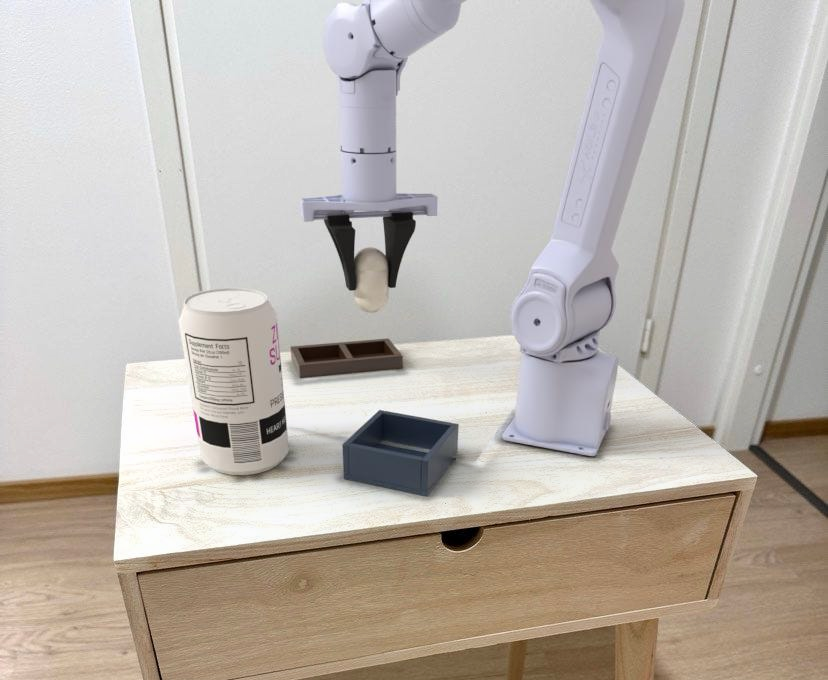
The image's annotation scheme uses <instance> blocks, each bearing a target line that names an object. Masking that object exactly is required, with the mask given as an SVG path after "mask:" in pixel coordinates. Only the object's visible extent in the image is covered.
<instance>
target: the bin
mask: <svg viewBox="0 0 828 680" xmlns="http://www.w3.org/2000/svg"><path fill="white" fill-rule="evenodd" d="M459 427H460V424H459V423H454V422H450V421H445V420H438V419H433V418H427V417H421V416H416V415H411V414H405V413H400V412H395V411H394V412H393V411H388V410H382V409H379V410H378V411H376V412H375V413H374V414H373V415H372V416H371V417H370V418H369V419H368V420H366V422H365V423H364V424H362V426H361V427H360V428H358V429H357V430H356V431H355V432H354V433H353V434H352V435H351V436H350V437H348V438H347V439H346V440H345V441H344V442H343V443H342V444H341V445H342V448H341V449H342V469H343V480H348V481H354V482H358V483H363V484H368V485H371V486H372V485H373V486H376V487H381V488H386V489H391V490H394V491H400V492H403V493H404V492H405V493H409V494H414V495H419V496H423V497H428V496H429V494H430V493H431V492H432V491H433V489H434V488H435V487H436V485H437V484H438V483H439V481H440V480H441V479H442V477H443V476H444V475H445V474H446V472H447V471H448V469H449V468H450V467H451V465H452V464H453V463H454V462H455V460H456V459H457V458H456V457H455V456H456V455H457V453H458V449H459V447H458V445H459ZM382 442H386V443H387V442H388V443H393V444H399V445H403V446H409V447H414V448H419V449H423V450H428V452H426V451H422V450H421V451H419V450H415V449H409V448H404V447H399V446H394V445H389V444H384V443H382Z"/></svg>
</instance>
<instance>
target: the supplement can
mask: <svg viewBox="0 0 828 680" xmlns="http://www.w3.org/2000/svg"><path fill="white" fill-rule="evenodd" d="M182 302H183V308H182V311H181V313H180V317H179V319H178V325H179V326H178V327H179V332H180V338H181V344H182V349H183V356H184V363H185V369H186V375H187V382H188V387H189V392H190V399H191V404H192V411H193V418H194V422H195V423H194V424H195V428H196V434H197V441H198V447H199V452H200V453H199V454H200V458H201V459H202V460H203V463H204V464H206V465H208V466H210V467H211V469H213V470H214V471H217V472H218V473H220V474H221V473H222V474H226V475H230V476H249V475H250V476H251V475H256V474H260V473H263V472H267V471H270V470H271V469H273V468H275V467H277V466H279V465H280V463H281V462H282V461H283V460H284V459H285V457H286V456H287V455H288V454H289V436H288V434H289V433H288V425H287V411H286V404H285V403H286V401H285V391H284V390H285V389H284V381H283V379H284V378H283V369H282V359H281V358H282V357H281V347H280V337H279V336H280V335H279V326H278V325H279V324H278V315H277V312H276V310H275V308H274V307H273V305H272V303H271V302H270V301H269V296H268V295H267V294H265V292H262V291H260V290H256V289H251V288H245V287H222V288H221V287H220V288H219V287H218V288H213V289H212V288H211V289H205V290H200V291H198V292H195V293H191V294H190V295H188V296H187V297H185V298H184V300H183V301H182Z"/></svg>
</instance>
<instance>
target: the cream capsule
mask: <svg viewBox="0 0 828 680" xmlns="http://www.w3.org/2000/svg"><path fill="white" fill-rule="evenodd" d="M354 264H355V275H356V290H353V291H352V296H353V301H354V303H355V305H356V306H357V308H359V309H360V310H361V311H363V312H364V313H370V314H372V313H377V312H379V311H381V310H382V309H384V308H385V306H386V305H387V303H388V300H389V296H390V295H389V294H390V291H389V290H390V288H389V269H388V261H387V258H386V256H385V253H384V252H383V251H382V250H380V249H378V248H377V247H373V246H368V247H363V248H361V249H360V250H359V251H357V252H356V254H354Z"/></svg>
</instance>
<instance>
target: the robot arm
mask: <svg viewBox="0 0 828 680" xmlns="http://www.w3.org/2000/svg"><path fill="white" fill-rule="evenodd" d="M467 1H468V0H363V1H362V3H360V4H359V5H358V4H356V3H353V2H348V1H347V2H346V1H342V2H338V3H337V4H336V5H335V7H334V9H333V10H332V11H331V12H330V13H329V15H328V16H327V18H326V21H325V23H324V26H323V33H322V47H323V48H322V49H323V53H324V57H325V60H326V62H327V64H328V66H329V68H330V69H331V71H332V72H333V73H334V74H335V75H336V76H337V77H336V78H337V98H338V99H337V101H338V124H339V125H338V126H339V128H338V129H339V149H340V150H339V151H340V173H341V174H340V175H341V177H340V178H341V194H335V195H327V196H318V197H303V198H302V197H301V198H299V210H300V211H299V213H300V219H301V221H303V223H304V222H305V223H308V222H314V221H318V220H319V221H320V220H323V223H324V225H325V227H326V229H327V231H328V233H329V236H330V237H331V240H332V242H333V244H334V247H335V249H336V252H337V256H338V257H339V260H340V265H341V267H342V271H343V276H344V281H345V287H346V288H347V290H348V291H350V292H351V291H352V292H353V290H356V275H355V264H354V257H355V246H356V244H355V243H356V229H355V228H354V227H353V222H352V221H351V220H350V219H364V218H365V219H367V218H382V223H383V233H384V234H383V235H384V249H385V252H384V255H385V256H386V258H387V261H388V269H389V289H395V288H397V280H398V276H399V271H400V267H401V263H402V261H403V258H404V255H405V252H406V249H407V247H408V245H409V242H410V241H411V238H412V236H413V235H414V233H415V231H416V225H417V221H416V220H415V219H414V216H427V217H437V216H438V196H437V195H435V194H434V193H407V192H405V193H403V192H402V193H401V192H399V193H398V192H397V96H398V94H399V91H401V76H402V72H403V70H404V68H405V66H406V64H407V62H408V59H409V57H410V56H412V55H413V54H415V53H416V52H418V51H419V50H421V49H422V48H424V47H426V46H427V45H429V44H431V43H432V42H434V41H435V40H437V39H438V38H439V37H442V35H445V34H446V33H447V32H449V31H450V30H452V29H454V27H455V26H456V25H457V24H458V20H459V17H460V15H461V7H462V4H463V3H464V2H467ZM589 2H590V4H591V5H592V8H593V9H594V11H595V13H596V15H597V17H598V19H599V20H600V22H601V25H602V28H603V29H602V30H603V31H602V35H601V40H600V43H599V48H598V52H597V56H596V59H595V64H594V66H593V71H592V75H591V80H590V83H589V87H588V91H587V95H586V98H585V102H584V107H583V110H582V115H581V119H580V121H579V122H580V123H579V127H578V130H577V134H576V138H575V142H574V146H573V151H572V154H571V158H570V162H569V166H568V170H567V174H566V178H565V182H564V186H563V190H562V193H561V198H560V202H559V206H558V210H557V214H556V217H555V221H554V225H553V229H552V232H551V236H550V237H551V238H550V240H549V242H548V243H547V245H545V247H544V249H543V250H542V251H541V253H540V254H539V255H538V257H537V258H536V259H535V261H534V263H532V265H531V267H530V269H529V272H528V277H527V279H526V283H525V285H524V287H523V288H522V289H521V291H520V292H519V293H518V294H517V296H516V297H515V299H514V300H513V302H512V305H511V309H510V313H509V322H510V323H509V324H510V329H511V331H512V335H513V336H514V338H515V340H516V342H517V343H518V345H519V352H520V360H519V369H518V382H517V391H516V402H515V411H514V417H513V418H512V420H511V421H510V422H509V424H508V426H507V427H506V428H505V430H504V431H503V433H502V434H501V439H502V440H503V441H506V442H511V443H517V444H523V445H527V446H533V447H539V448H545V449H550V450H555V451H560V452H567V453H572V454H577V455H583V456H588V457H594V456H596V455H597V454H598V451H599V449H600V446H601V444H602V443H603V440H604V437H605V435H606V433H607V431H608V430H609V428H610V423H611V420H612V412H611V411H612V404H613V399H614V393H615V388H616V387H615V386H616V382H617V375H618V369H619V357H618V356H616V355H613V354H609V353H606V352H604V351H601V350H599V339H600V331H602V330H603V329H605V328H606V327H607V326H608V325H609V323H610V322H611V321H612V320H613V317H614V314H615V312H616V307H617V295H616V286H615V285H616V278H617V274H618V271H619V267H620V265H619V262H618V260H617V258H616V257H615V255H614V252H613V251H612V250H613V249H612V248H613V245H614V242H615V240H616V235H617V233H618V232H617V231H618V229H619V226H620V222H621V219H622V215H623V212H624V210H625V206H626V202H627V199H628V196H629V193H630V189H631V187H632V183H633V180H634V176H635V173H636V170H637V166H638V163H639V160H640V157H641V153H642V150H643V147H644V144H645V141H646V137H647V134H648V131H649V127H650V124H651V122H652V121H651V120H652V118H653V114H654V112H655V108H656V104H657V101H658V98H659V95H660V91H661V89H662V85H663V83H664V78H665V76H666V72H667V70H668V65H669V62H670V58H671V57H672V56H671V55H672V52H673V49H674V46H675V43H676V39H677V37H678V34H679V33H678V32H679V29H680V26H681V23H682V19H683V15H684V10H685V2H686V1H685V0H589Z"/></svg>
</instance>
